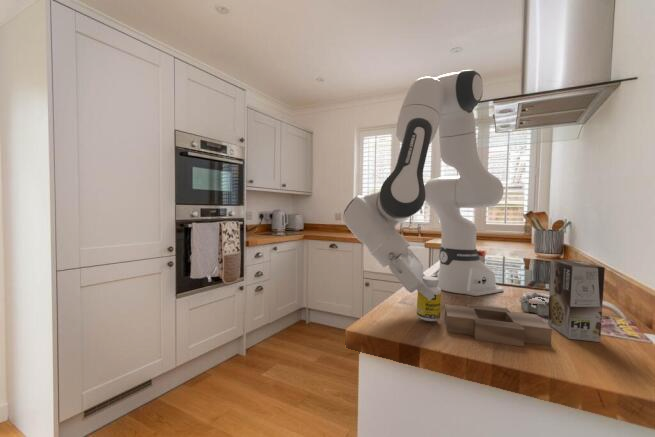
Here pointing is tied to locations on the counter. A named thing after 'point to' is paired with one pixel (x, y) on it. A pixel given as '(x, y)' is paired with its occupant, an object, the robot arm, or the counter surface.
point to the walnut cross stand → (497, 325)
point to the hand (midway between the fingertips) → (431, 293)
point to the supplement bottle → (429, 301)
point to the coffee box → (576, 299)
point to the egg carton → (539, 309)
